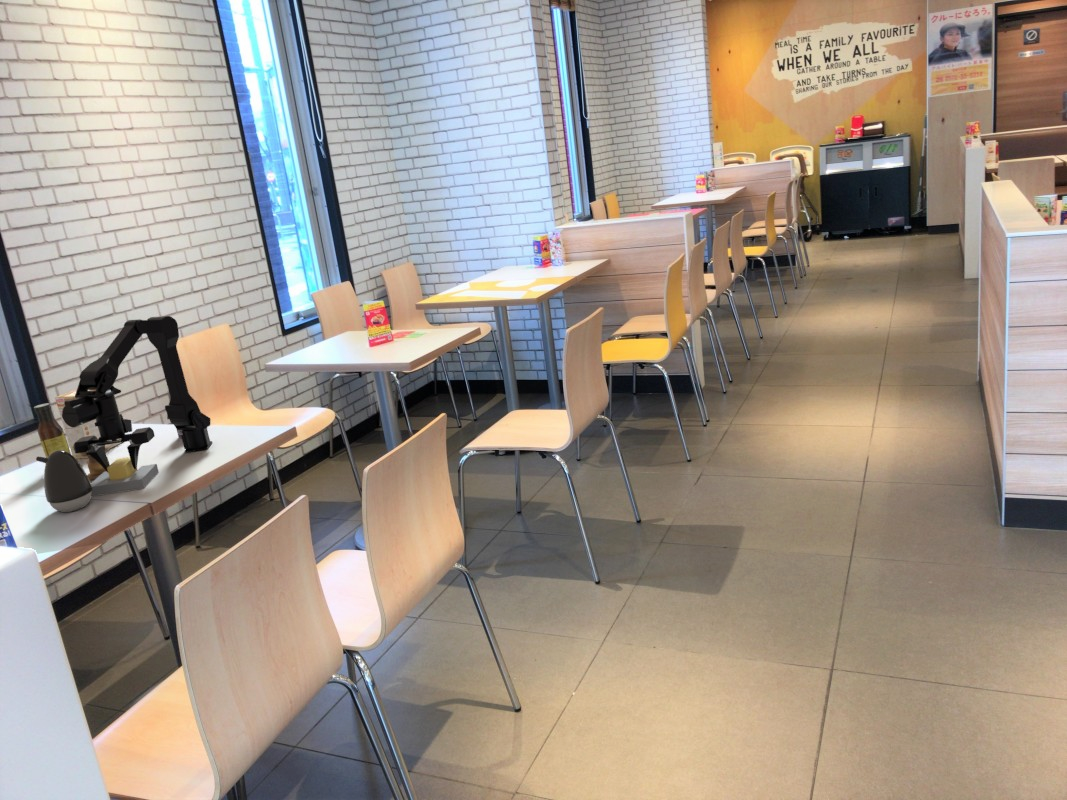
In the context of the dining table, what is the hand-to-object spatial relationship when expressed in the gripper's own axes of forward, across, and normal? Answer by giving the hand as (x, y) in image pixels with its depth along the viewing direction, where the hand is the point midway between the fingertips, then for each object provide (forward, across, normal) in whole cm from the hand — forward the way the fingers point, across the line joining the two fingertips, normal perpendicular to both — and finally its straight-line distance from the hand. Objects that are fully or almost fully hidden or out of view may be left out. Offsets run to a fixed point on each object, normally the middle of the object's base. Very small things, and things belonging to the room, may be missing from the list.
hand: (122, 470), depth 223 cm
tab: (+4, 0, 0) cm, 4 cm away
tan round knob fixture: (+4, +10, -10) cm, 15 cm away
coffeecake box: (+4, +21, -38) cm, 44 cm away
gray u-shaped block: (+4, 0, +1) cm, 4 cm away
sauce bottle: (+4, +25, -21) cm, 33 cm away
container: (+4, -5, -39) cm, 40 cm away
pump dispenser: (+4, +8, +14) cm, 17 cm away
